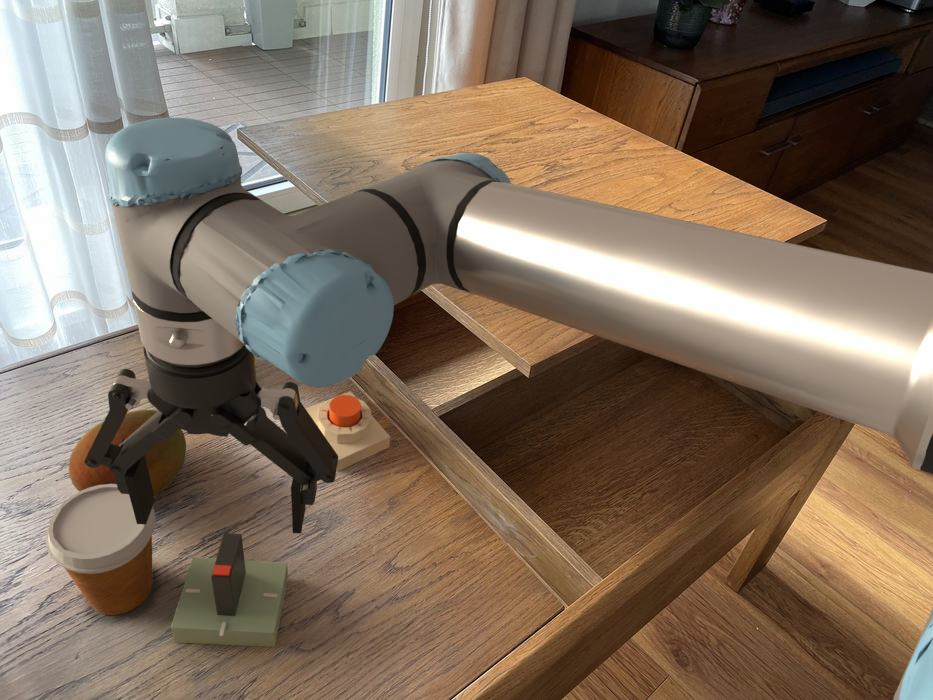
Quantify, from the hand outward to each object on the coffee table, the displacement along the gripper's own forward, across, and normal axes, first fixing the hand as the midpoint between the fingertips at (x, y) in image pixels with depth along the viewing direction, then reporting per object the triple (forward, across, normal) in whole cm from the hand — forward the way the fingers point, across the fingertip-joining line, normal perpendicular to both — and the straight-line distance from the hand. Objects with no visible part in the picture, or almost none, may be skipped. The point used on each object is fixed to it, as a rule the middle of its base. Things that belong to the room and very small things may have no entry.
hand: (223, 516), depth 65 cm
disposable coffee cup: (+16, -12, +2) cm, 21 cm away
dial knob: (+13, 0, 0) cm, 13 cm away
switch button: (+13, +8, +26) cm, 30 cm away
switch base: (+16, +8, +26) cm, 32 cm away
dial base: (+16, 0, 0) cm, 16 cm away
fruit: (+16, -15, +16) cm, 27 cm away
